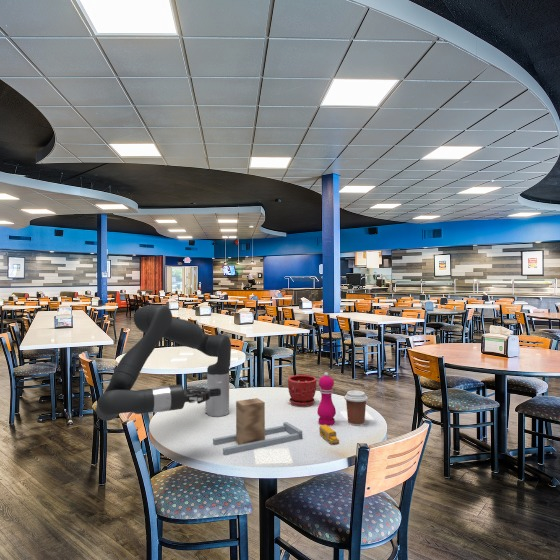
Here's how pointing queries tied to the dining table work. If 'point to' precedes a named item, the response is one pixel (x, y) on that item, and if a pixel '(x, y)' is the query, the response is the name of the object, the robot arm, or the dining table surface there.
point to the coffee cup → (356, 407)
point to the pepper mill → (326, 401)
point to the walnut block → (250, 421)
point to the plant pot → (302, 390)
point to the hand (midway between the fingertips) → (219, 391)
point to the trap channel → (292, 430)
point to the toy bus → (328, 434)
